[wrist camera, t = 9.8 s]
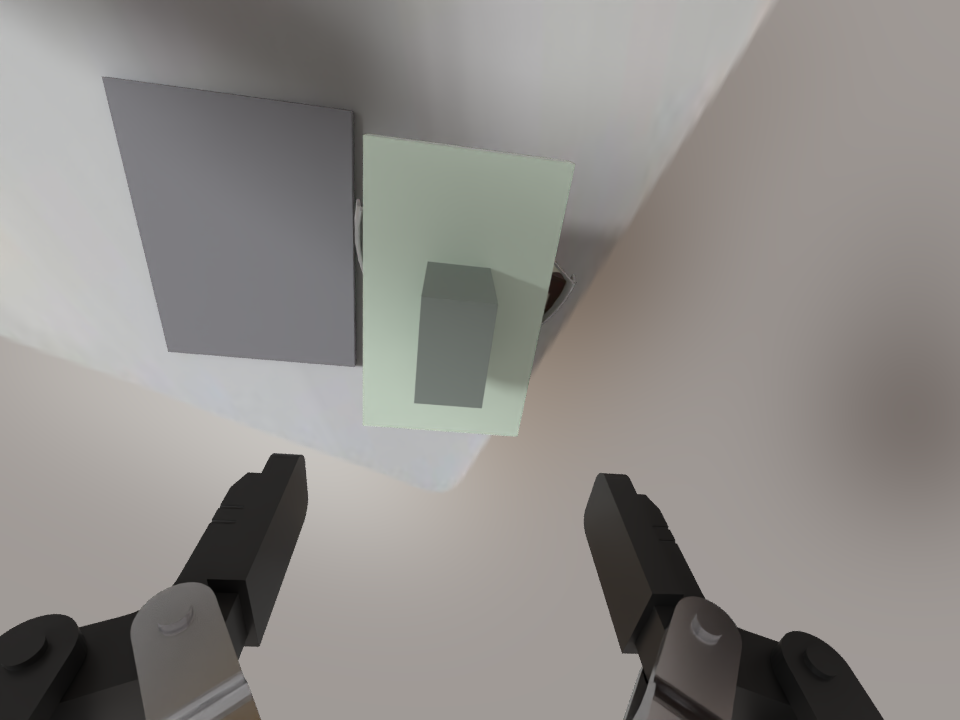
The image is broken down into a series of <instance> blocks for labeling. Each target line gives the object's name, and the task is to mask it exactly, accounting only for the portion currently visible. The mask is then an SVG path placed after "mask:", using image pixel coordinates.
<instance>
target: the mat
mask: <svg viewBox="0 0 960 720" xmlns="http://www.w3.org/2000/svg"><path fill="white" fill-rule="evenodd" d="M102 79H103V83H104V87H105V92H106V96H107V100H108V104H109V108H110V112H111V116H112V121H113V125H114V129H115V133H116V137H117V141H118V145H119V149H120V154H121V158H122V162H123V166H124V170H125V174H126V178H127V183H128V187H129V191H130V195H131V199H132V203H133V207H134V211H135V216H136V220H137V224H138V228H139V232H140V236H141V240H142V245H143V249H144V253H145V257H146V261H147V265H148V269H149V273H150V278H151V282H152V286H153V290H154V294H155V298H156V302H157V307H158V311H159V315H160V319H161V323H162V327H163V331H164V335H165V340H166V344H167V348H168V352H178V353H190V354H203V355H215V356H227V357H239V358H252V359H264V360H276V361H288V362H300V363H313V364H325V365H337V366H349V367H355V365H356V317H355V231H354V145H353V111H350V110H343V109H335V108H328V107H321V106H314V105H306V104H299V103H292V102H285V101H277V100H270V99H263V98H256V97H248V96H241V95H234V94H227V93H219V92H212V91H205V90H198V89H190V88H183V87H176V86H169V85H161V84H154V83H147V82H139V81H132V80H125V79H118V78H110V77H102Z"/></svg>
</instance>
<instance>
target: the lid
mask: <svg viewBox="0 0 960 720" xmlns="http://www.w3.org/2000/svg"><path fill="white" fill-rule="evenodd" d="M574 168H575V164H574V163H572V162H570V161H565V160H558V159H551V158H544V157H536V156H529V155H522V154H514V153H507V152H500V151H492V150H485V149H478V148H470V147H463V146H456V145H449V144H441V143H434V142H427V141H419V140H412V139H405V138H397V137H390V136H383V135H376V134H365V135H363V426H376V427H390V428H404V429H418V430H432V431H446V432H460V433H474V434H488V435H503V436H518V431H519V426H520V422H521V417H522V412H523V407H524V403H525V398H526V393H527V389H528V384H529V379H530V375H531V370H532V365H533V361H534V356H535V351H536V346H537V342H538V337H539V332H540V328H541V323H542V318H543V313H544V309H545V304H546V299H547V295H548V290H549V285H550V281H551V276H552V271H553V266H554V262H555V257H556V252H557V248H558V243H559V238H560V233H561V229H562V224H563V219H564V215H565V210H566V205H567V201H568V196H569V191H570V186H571V182H572V177H573V172H574Z"/></svg>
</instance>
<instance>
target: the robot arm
mask: <svg viewBox="0 0 960 720" xmlns="http://www.w3.org/2000/svg"><path fill="white" fill-rule="evenodd" d="M307 505H308V491H307V479H306V468H305V459H304V456H303V455H294V454H277V453H274V454H272V455H271V456H270V458H269V460H268V461H267V463H266V465H265V467H264V469H263V471H262V473H247V474H246V475H244V476H243V477H242V478H241V479H240V480H239V481H237V482H236V483H235V484H234V485H233V486H231V488H230V489H229V491H228V493H227V494H226V496H225V498H224V500H223V501H222V503H221V506H220V508H218V510H217V512H216V513H215V515H214V517H213V519H212V522H211V523H210V524H209V525H208V527H207V529H206V531H205V533H204V534H203V536H202V537H201V539H200V541H199V543H198V545H197V546H196V548H195V550H194V551H193V553H192V555H191V557H190V558H189V560H188V562H187V563H186V565H185V567H184V569H183V570H182V572H181V574H180V575H179V577H178V579H177V581H176V582H175V583H174V584H173V586H171V587H169V588H167V589H165V590H163V591H161V592H159V593H158V594H156V595H155V596H153V597H152V598H151V599H150V600H149V601H147V603H146V604H145V605H144V606H143V607H142V608H141V609H140V610H139V611H137V612H134V613H131V614H128V615H125V616H121V617H118V618H114V619H110V620H106V621H102V622H98V623H94V624H90V625H87V626H83V627H78V626H77V624H76V622H75V621H74V620H73V619H72V618H70V617H68V616H66V615H61V614H51V615H44V616H40V617H36V618H34V619H30V620H28V621H26V622H23V623H21V624H19V625H17V626H16V627H14V628H12V629H10V630H9V631H7V632H6V633H4V634H3V635H1V636H0V720H261V718H260V715H259V713H258V710H257V707H256V704H255V702H254V699H253V696H252V693H251V690H250V688H249V685H248V683H247V681H246V680H245V678H244V675H243V673H242V670H241V667H240V664H239V661H238V660H239V657H240V654H241V652H242V649H243V647H244V646H256V647H258V646H260V643H261V640H262V638H263V635H264V632H265V629H266V626H267V624H268V621H269V618H270V615H271V612H272V610H273V607H274V604H275V601H276V598H277V596H278V593H279V590H280V587H281V584H282V581H283V579H284V576H285V573H286V570H287V568H288V565H289V562H290V559H291V556H292V554H293V551H294V548H295V545H296V542H297V540H298V537H299V534H300V531H301V528H302V525H303V523H304V520H305V516H306V511H307ZM584 529H585V534H586V537H587V540H588V543H589V547H590V550H591V554H592V557H593V560H594V563H595V566H596V570H597V573H598V576H599V580H600V582H601V586H602V589H603V592H604V596H605V599H606V602H607V605H608V609H609V612H610V615H611V619H612V622H613V625H614V628H615V632H616V635H617V638H618V642H619V645H620V648H621V651H622V653H631V654H634V653H635V654H639V657H640V660H641V663H642V667H641V669H640V671H639V674H638V677H637V680H636V683H635V686H634V689H633V692H632V695H631V698H630V700H629V704H628V706H627V710H626V712H625V716H624V718H623V720H884V719H883V718H882V716H881V714H880V713H879V711H878V710H877V708H876V707H875V706H874V704H873V702H872V701H871V699H870V697H869V696H868V694H867V693H866V691H865V690H864V688H863V687H862V685H861V684H860V682H859V681H858V679H857V678H856V676H855V675H854V673H853V671H852V670H851V668H850V667H849V666H848V664H847V663H846V661H845V660H844V659H843V658H842V657H841V656H840V655H839V654H838V653H837V652H836V651H835V650H834V649H833V648H832V647H830V646H829V645H828V644H827V643H825V642H824V641H822V640H820V639H819V638H817V637H815V636H813V635H811V634H808V633H805V632H800V631H792V632H789V633H787V634H785V636H784V637H783V638H782V639H781V640H780V642H777V641H774V640H772V639H769V638H765V637H763V636H760V635H757V634H754V633H751V632H748V631H745V630H743V629H740V628H738V627H737V626H736V624H735V623H734V622H733V620H732V619H731V618H730V616H729V615H728V614H727V613H726V612H725V611H724V610H722V609H721V608H720V607H719V606H717V605H716V604H714V603H713V602H710V601H709V600H706V599H705V597H704V596H703V594H702V592H701V590H700V588H699V586H698V584H697V582H696V580H695V578H694V576H693V574H692V572H691V571H690V568H689V566H688V564H687V562H686V561H685V559H684V556H683V554H682V552H681V551H680V549H679V547H678V545H677V544H676V543H675V539H674V537H673V535H672V533H671V531H670V530H668V525H667V523H666V521H665V519H664V517H663V515H662V513H661V511H660V509H659V508H658V507H657V506H656V505H655V504H654V503H653V502H652V501H651V500H650V499H649V498H648V497H647V496H646V495H641V494H637V493H636V491H635V489H634V487H633V485H632V482H631V481H630V478H629V477H628V476H627V475H623V474H606V473H599V474H598V475H597V477H596V480H595V483H594V486H593V489H592V492H591V495H590V498H589V500H588V503H587V507H586V509H585V514H584Z"/></svg>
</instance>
